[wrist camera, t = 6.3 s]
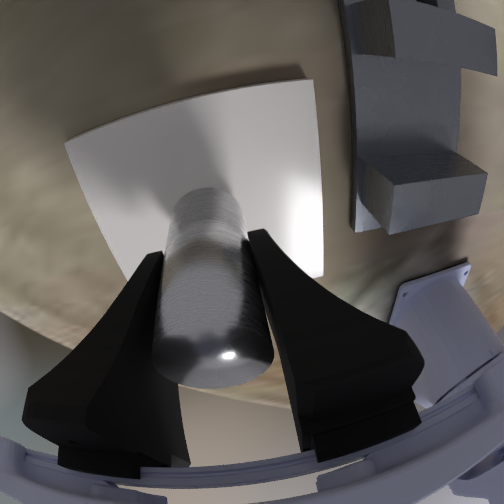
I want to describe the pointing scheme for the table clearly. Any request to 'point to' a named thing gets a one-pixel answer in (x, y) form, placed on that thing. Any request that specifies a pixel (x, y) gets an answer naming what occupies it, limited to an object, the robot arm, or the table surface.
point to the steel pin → (210, 297)
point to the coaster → (208, 168)
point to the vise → (411, 111)
